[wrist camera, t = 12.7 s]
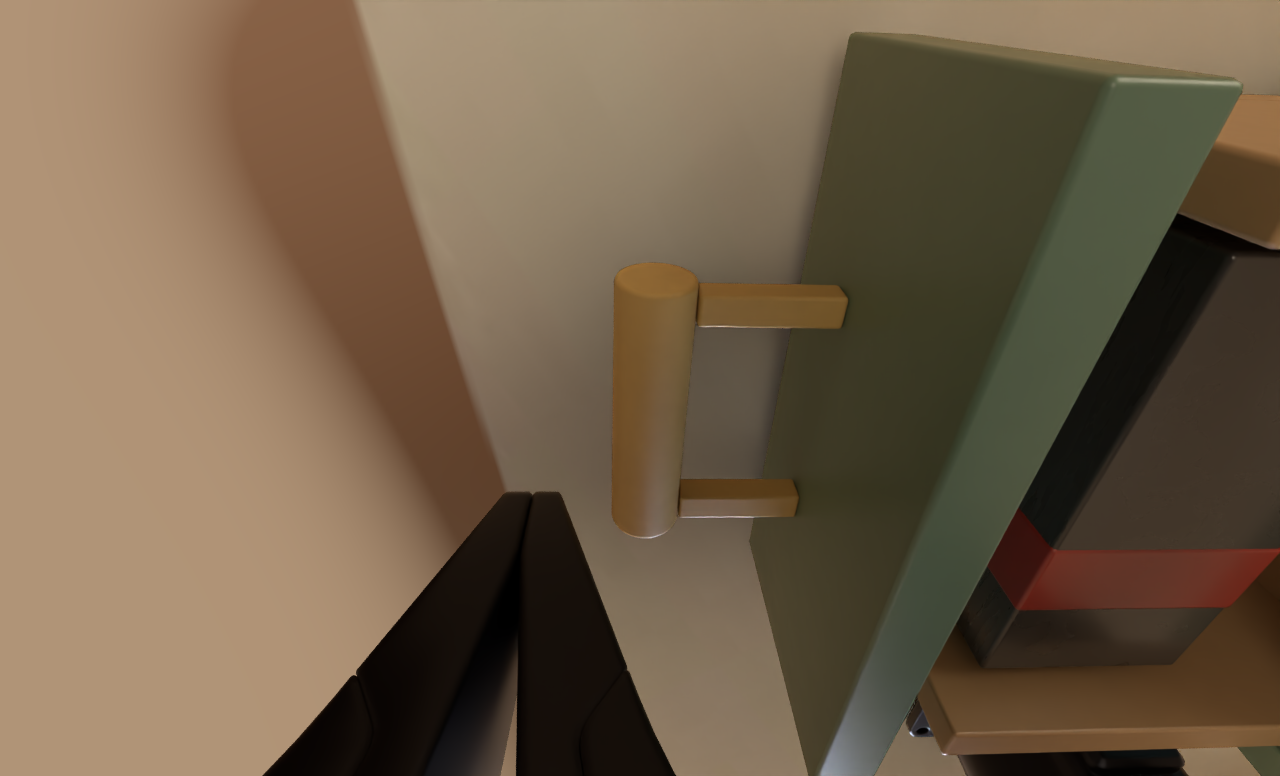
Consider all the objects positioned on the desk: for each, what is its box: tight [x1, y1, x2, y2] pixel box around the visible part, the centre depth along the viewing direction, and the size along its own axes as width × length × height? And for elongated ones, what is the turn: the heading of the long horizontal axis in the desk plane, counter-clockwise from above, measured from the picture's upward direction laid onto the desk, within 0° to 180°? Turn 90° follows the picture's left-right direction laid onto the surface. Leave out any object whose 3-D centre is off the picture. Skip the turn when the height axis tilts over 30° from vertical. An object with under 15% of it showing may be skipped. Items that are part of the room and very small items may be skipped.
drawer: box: [612, 32, 1280, 776], centre depth 11 cm, size 16×12×6 cm
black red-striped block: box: [956, 213, 1280, 668], centre depth 11 cm, size 4×8×4 cm, turn 178°
